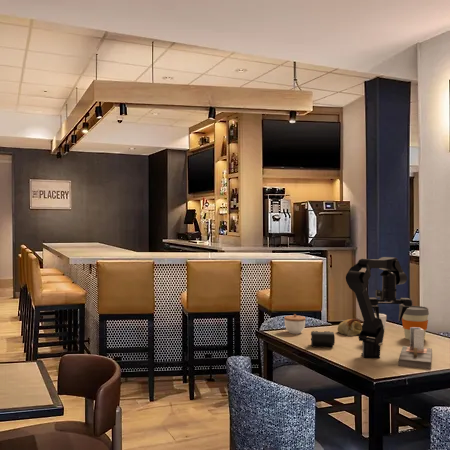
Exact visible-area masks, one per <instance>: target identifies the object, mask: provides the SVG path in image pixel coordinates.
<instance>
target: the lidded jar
mask: <svg viewBox="0 0 450 450" xmlns="http://www.w3.org/2000/svg"><path fill="white" fill-rule="evenodd" d="M306 319H307V318H306V317H305V316H304V315H297V313H293V315H286V316H285V315H284V326H285V329H286V331H288V333H289V334H293V335H298V334H299V335H300V334H302V332H304V329H305V327H306Z"/></svg>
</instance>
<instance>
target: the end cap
mask: <svg viewBox="0 0 450 450" xmlns="http://www.w3.org/2000/svg"><path fill="white" fill-rule="evenodd" d="M310 336H311V337H310V341H311V343H310V345H311V346H312V347H317V348H318V347H321V348H326V347H329V348H330V347H331V348H332V347H333V346H334V345H335V343H336V342H335V339H336V337H335V332H334V331H327V330H326V331H317V330H316V331H315V330H313V331H311V332H310Z"/></svg>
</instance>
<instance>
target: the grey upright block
mask: <svg viewBox="0 0 450 450" xmlns="http://www.w3.org/2000/svg"><path fill="white" fill-rule="evenodd" d="M424 343H425V339H424V330H423V329H421V328H410V340H409V347H410V349H414V348H417V351H424V348H425V344H424Z"/></svg>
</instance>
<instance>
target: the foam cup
mask: <svg viewBox="0 0 450 450" xmlns="http://www.w3.org/2000/svg"><path fill="white" fill-rule="evenodd" d="M374 314H375V312H374ZM375 317H376V315H375ZM379 319H381V320H382V324H383V326H384V327H383V328H384V331H385V329H386V323H387V314H385V313H379ZM384 337H385V335H384V336H383V338H384ZM370 338H373V337H370ZM381 344H382V345H383V344H384V340H383V341H382V343H379V345H381Z"/></svg>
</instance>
